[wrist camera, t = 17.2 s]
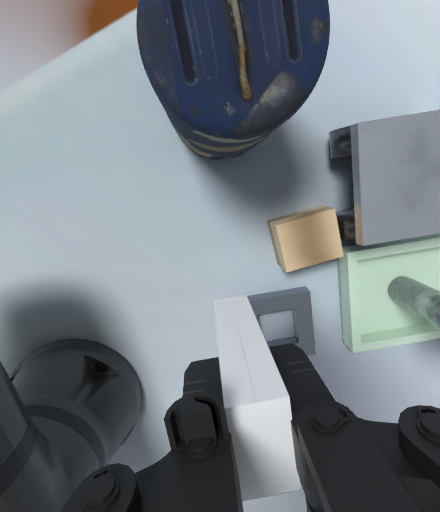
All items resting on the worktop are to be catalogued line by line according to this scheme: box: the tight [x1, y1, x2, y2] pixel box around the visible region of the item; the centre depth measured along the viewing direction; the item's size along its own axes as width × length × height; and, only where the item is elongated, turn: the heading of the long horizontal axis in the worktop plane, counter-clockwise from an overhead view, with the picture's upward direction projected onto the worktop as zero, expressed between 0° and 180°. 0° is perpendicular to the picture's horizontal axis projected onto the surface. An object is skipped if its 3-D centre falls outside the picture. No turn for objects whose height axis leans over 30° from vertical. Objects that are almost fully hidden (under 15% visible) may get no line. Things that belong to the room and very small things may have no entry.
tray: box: [337, 233, 440, 353], centre depth 34 cm, size 14×12×3 cm
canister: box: [137, 0, 330, 159], centre depth 21 cm, size 10×10×18 cm
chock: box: [267, 206, 344, 272], centre depth 31 cm, size 6×5×4 cm
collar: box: [247, 287, 315, 355], centre depth 35 cm, size 8×8×2 cm
